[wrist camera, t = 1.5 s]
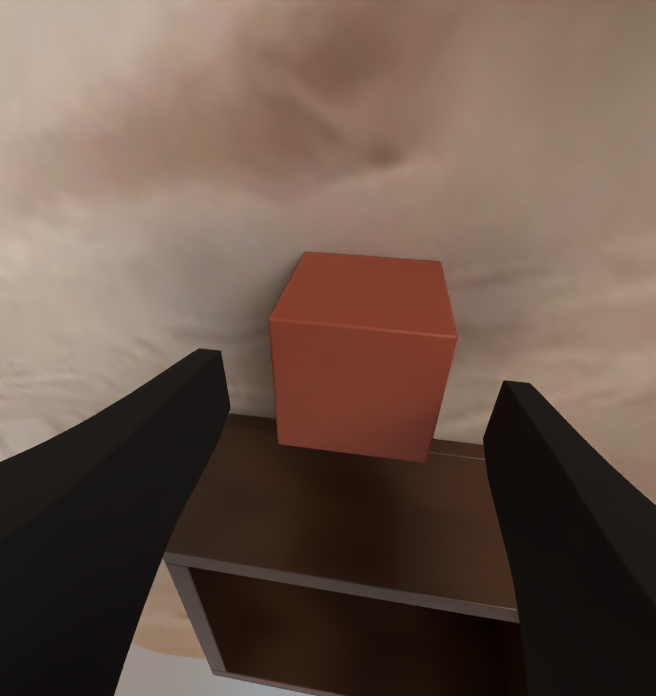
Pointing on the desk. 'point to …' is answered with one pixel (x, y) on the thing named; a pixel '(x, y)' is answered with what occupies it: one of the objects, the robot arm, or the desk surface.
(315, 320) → the block
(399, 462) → the chest
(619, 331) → the desk surface
